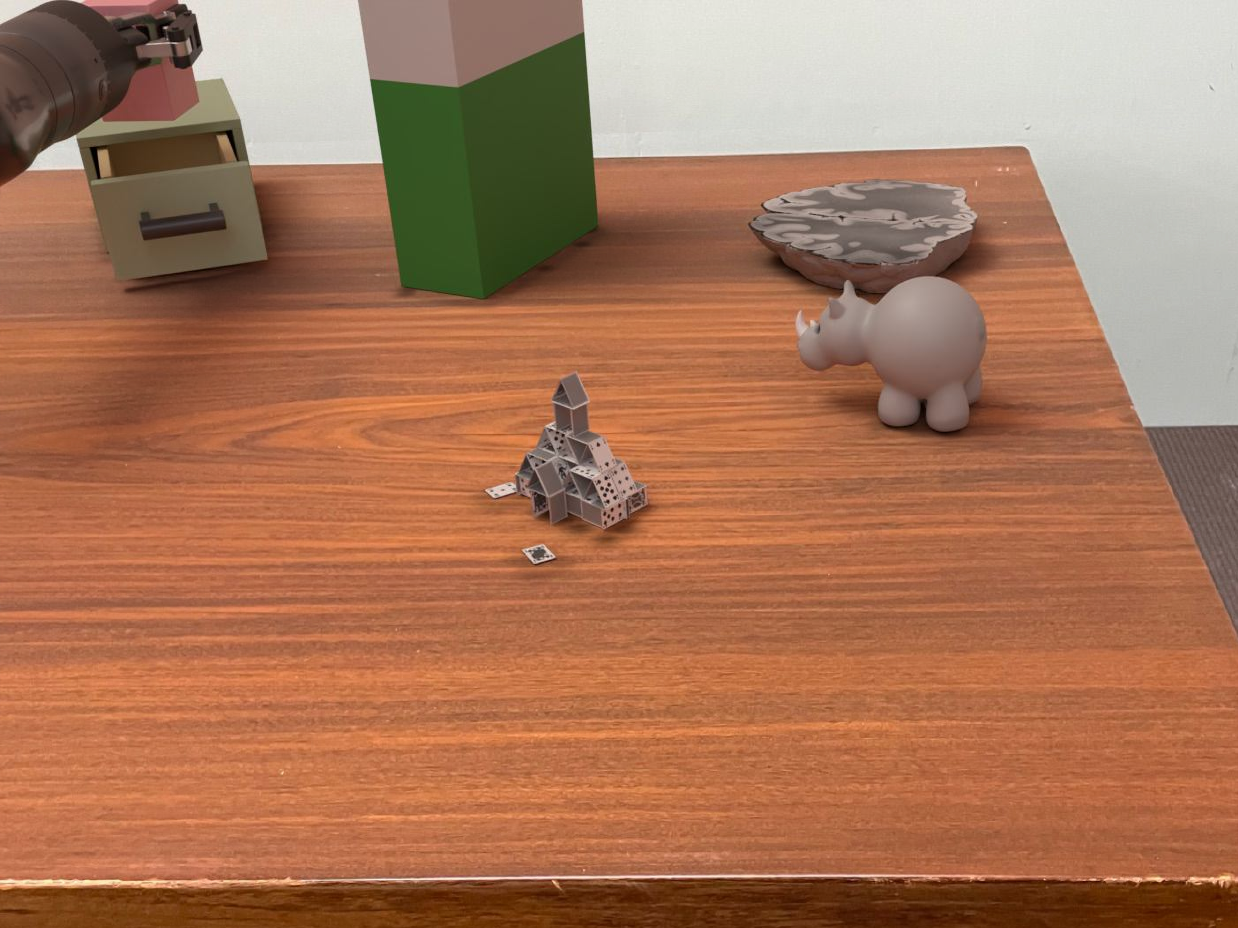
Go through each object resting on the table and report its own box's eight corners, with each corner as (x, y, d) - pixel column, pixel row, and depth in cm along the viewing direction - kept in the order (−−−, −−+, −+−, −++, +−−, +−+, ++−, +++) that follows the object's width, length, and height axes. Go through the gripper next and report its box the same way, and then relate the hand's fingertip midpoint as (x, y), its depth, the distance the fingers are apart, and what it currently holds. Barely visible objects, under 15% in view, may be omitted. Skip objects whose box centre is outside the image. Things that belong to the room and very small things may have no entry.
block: (102, 122, 113) (73, 5, 109) (131, 102, 118) (104, -10, 113) (174, 121, 113) (148, 4, 108) (200, 101, 117) (176, -11, 113)
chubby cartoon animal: (815, 373, 100) (817, 245, 95) (994, 398, 96) (1005, 266, 91) (776, 417, 95) (775, 285, 90) (963, 446, 91) (973, 309, 86)
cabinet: (263, 230, 128) (240, 118, 122) (106, 252, 124) (76, 138, 119) (244, 182, 139) (222, 77, 134) (100, 201, 136) (72, 94, 130)
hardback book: (521, 215, 129) (489, -103, 115) (598, 225, 126) (575, -100, 112) (401, 286, 116) (348, -63, 102) (483, 298, 113) (440, -58, 99)
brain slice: (784, 210, 128) (784, 173, 126) (988, 221, 124) (991, 184, 122) (722, 293, 112) (721, 253, 111) (951, 310, 108) (954, 269, 107)
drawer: (274, 276, 116) (255, 179, 112) (119, 299, 113) (92, 201, 109) (249, 209, 129) (230, 120, 125) (109, 228, 126) (86, 138, 122)
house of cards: (430, 516, 86) (411, 390, 81) (543, 461, 91) (530, 339, 87) (540, 567, 81) (526, 435, 76) (652, 506, 86) (645, 379, 82)
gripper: (141, 10, 97) (228, -38, 111) (-74, 14, 99) (38, -34, 112) (169, 131, 102) (249, 70, 115) (-38, 134, 103) (66, 73, 117)
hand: (145, 19), depth 114 cm, fingers closed on block, 5 cm apart
